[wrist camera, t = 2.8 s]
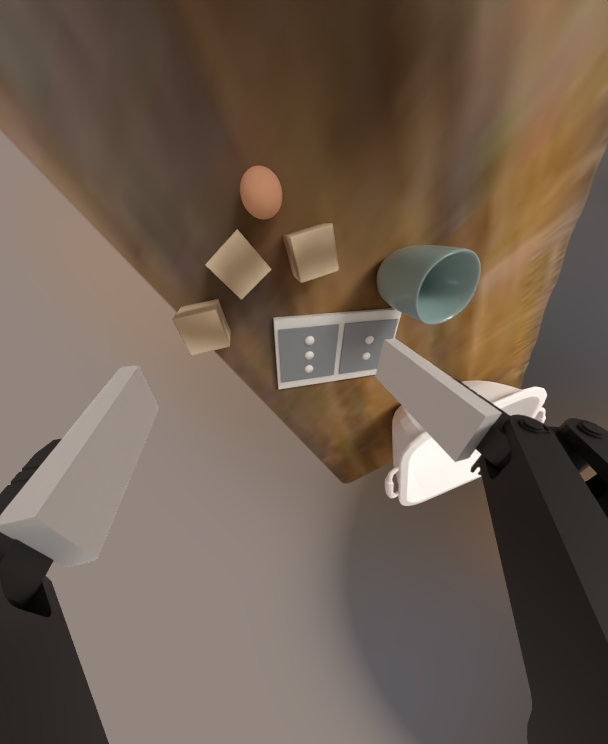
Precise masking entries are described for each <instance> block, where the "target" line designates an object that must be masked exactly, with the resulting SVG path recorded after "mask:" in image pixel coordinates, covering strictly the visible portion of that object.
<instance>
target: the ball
mask: <svg viewBox="0 0 608 744" xmlns="http://www.w3.org/2000/svg"><path fill="white" fill-rule="evenodd" d="M240 195H241V199H242V202H243V204H244V206H245V208H246V209H247V211H248V212H249V213H250V214H251V215H252V216H254V217H256V218H258V219H263V220H264V219H269V218H272V217H273V216H274V215H276V213H277V212H278V211H279V209H280V207H281V203H282V188H281V184H280V182H279V180H278V178H277V176H276V175H275V174H274V173H273V172H272V171H271V170H270V169H268V168H267V167H264V166H253V167H251V168H249V169H248V170H247V171H246V172H245V173H244V175H243V177H242V180H241V184H240Z"/></svg>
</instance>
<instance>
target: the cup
mask: <svg viewBox="0 0 608 744" xmlns="http://www.w3.org/2000/svg"><path fill="white" fill-rule="evenodd" d="M480 272H481V270H480V261H479V258H478V256H477V255H476V253H474V252H473V251H472V250H469V249H465V248H460V247H452V246H441V245H412V246H407V247H403V248H400V249H398V250H396V251H394V252H392V253H391V254H389V255H388V256H387V257H386V258H385V259H384V261H383V262H382V263H381V265H380V267H379V270H378V273H377V289H378V292H379V294H380V296H381V297H382V299H383V300H384V301H385V302H386V303H388V304H389V305H390V306H391V307H393V308H394V309H396V310H397V311H399V312H401V313H403V314H405V315H406V316H408V317H410V318H412V319H414V320H416V321H418V322H421V323H423V324H427V325H434V324H439V323H443V322H445V321H447V320H449V319H451V318H453V317H454V316H456V315H457V314H458V313H459V312H461V311H462V310H463V309H464V308H465V307H466V306H467V304H468V303H469V301H470V300H471V298H472V297H473V295H474V293H475V290H476V288H477V286H478V282H479V278H480Z"/></svg>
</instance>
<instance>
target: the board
mask: <svg viewBox="0 0 608 744" xmlns="http://www.w3.org/2000/svg"><path fill="white" fill-rule="evenodd" d="M400 316H401V312H399V311H397V310H396V309H394V308H387V309H374V310H362V311H349V312H337V313H324V314H311V315H299V316H286V317H274V318H273V323H274V337H275V351H276V365H277V380H278V388H279V389H284V388H291V387H297V386H304V385H310V384H317V383H324V382H330V381H337V380H343V379H350V378H356V377H363V376H369V375H376V371H377V367H378V363H379V359H380V355H381V351H382V347H383V343H384V340H385V339H395V335H396V331H397V327H398V324H399V320H400Z"/></svg>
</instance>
